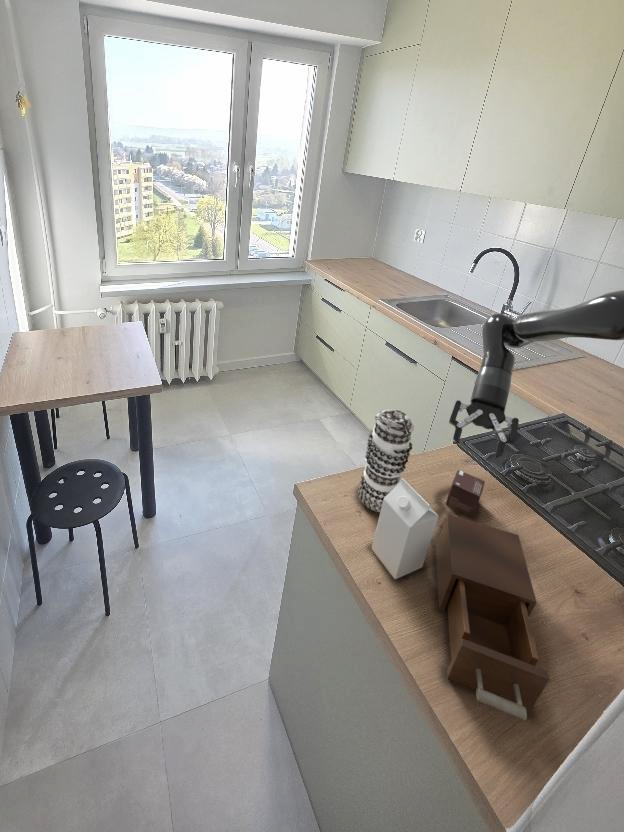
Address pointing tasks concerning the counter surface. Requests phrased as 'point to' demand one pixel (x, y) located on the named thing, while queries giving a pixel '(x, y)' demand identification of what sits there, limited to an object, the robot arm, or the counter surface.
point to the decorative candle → (385, 457)
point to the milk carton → (404, 530)
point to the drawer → (494, 649)
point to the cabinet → (482, 561)
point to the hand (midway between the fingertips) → (476, 450)
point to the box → (465, 493)
